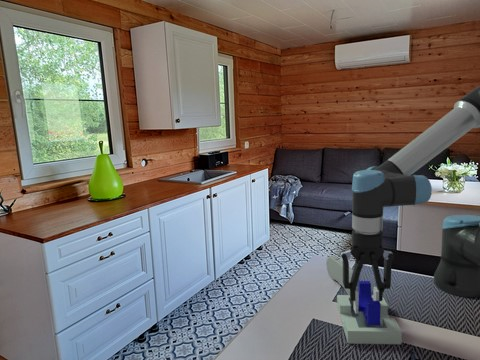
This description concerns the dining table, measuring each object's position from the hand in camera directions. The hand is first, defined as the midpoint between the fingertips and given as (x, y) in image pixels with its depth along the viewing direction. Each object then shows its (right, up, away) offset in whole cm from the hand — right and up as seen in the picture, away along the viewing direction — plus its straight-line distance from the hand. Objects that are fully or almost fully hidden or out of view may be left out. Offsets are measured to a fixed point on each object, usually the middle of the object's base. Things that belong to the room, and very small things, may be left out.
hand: (365, 310), depth 97 cm
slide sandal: (0, 0, +22) cm, 22 cm away
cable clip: (0, -1, 0) cm, 0 cm away
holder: (0, -4, +1) cm, 4 cm away
